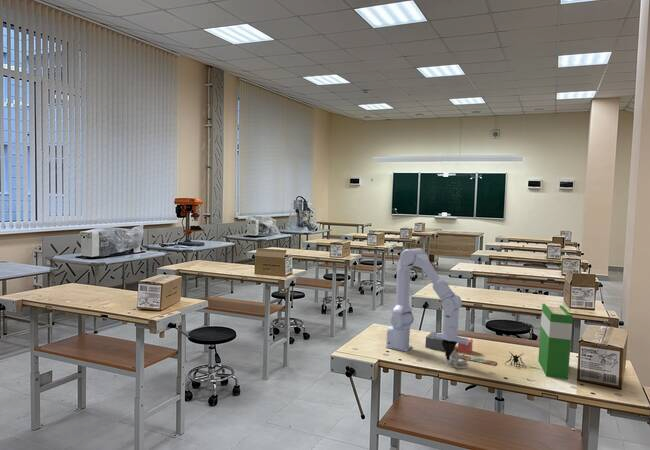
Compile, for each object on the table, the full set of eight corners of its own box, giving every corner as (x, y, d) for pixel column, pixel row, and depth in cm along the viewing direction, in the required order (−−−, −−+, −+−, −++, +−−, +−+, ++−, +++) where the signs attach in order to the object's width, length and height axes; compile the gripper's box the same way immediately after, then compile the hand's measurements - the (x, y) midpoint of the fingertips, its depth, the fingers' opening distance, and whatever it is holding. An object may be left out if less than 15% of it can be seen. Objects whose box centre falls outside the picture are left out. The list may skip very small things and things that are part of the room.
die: (457, 351, 197) (458, 339, 196) (460, 348, 201) (460, 337, 201) (469, 354, 194) (470, 342, 194) (471, 350, 199) (472, 339, 198)
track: (445, 355, 191) (445, 354, 191) (447, 353, 194) (447, 352, 194) (495, 365, 182) (495, 364, 182) (496, 362, 185) (496, 361, 185)
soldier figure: (472, 367, 182) (463, 365, 172) (462, 373, 183) (452, 372, 173) (461, 349, 186) (452, 347, 176) (452, 356, 187) (442, 354, 178)
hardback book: (538, 360, 190) (542, 303, 188) (557, 363, 188) (562, 305, 186) (546, 376, 173) (550, 313, 171) (567, 379, 171) (572, 316, 169)
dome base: (425, 347, 201) (425, 337, 201) (431, 341, 210) (431, 331, 209) (448, 351, 196) (448, 341, 196) (453, 345, 205) (454, 335, 205)
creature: (526, 373, 178) (526, 362, 185) (527, 360, 177) (526, 350, 184) (504, 369, 181) (505, 359, 188) (505, 357, 180) (506, 347, 187)
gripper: (471, 326, 182) (469, 359, 183) (435, 320, 189) (433, 352, 190) (467, 330, 176) (465, 365, 177) (430, 324, 183) (428, 357, 184)
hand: (448, 359), depth 183 cm, fingers closed
